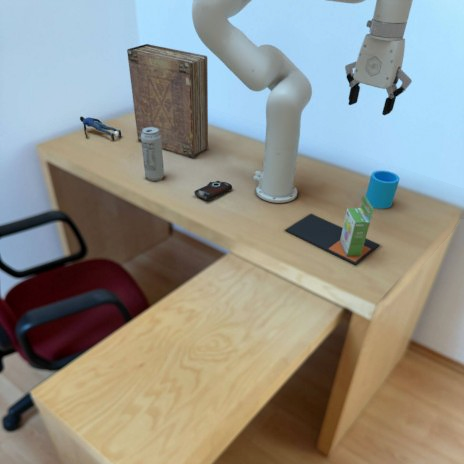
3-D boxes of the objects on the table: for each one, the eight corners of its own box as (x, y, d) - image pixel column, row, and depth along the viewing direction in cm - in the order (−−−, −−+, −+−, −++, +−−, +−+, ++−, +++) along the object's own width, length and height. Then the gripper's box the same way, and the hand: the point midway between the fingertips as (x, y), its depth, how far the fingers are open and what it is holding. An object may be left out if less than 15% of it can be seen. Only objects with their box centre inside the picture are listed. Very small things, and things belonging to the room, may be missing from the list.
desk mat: (285, 231, 120) (285, 229, 119) (310, 215, 126) (311, 213, 126) (355, 265, 109) (355, 263, 109) (378, 246, 116) (379, 244, 115)
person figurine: (128, 139, 166) (91, 122, 171) (127, 127, 163) (90, 110, 168) (108, 148, 159) (70, 130, 164) (108, 136, 156) (69, 118, 160)
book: (208, 150, 158) (208, 56, 137) (193, 158, 152) (190, 62, 131) (154, 133, 167) (145, 43, 147) (137, 141, 161) (126, 48, 141)
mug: (393, 210, 130) (401, 184, 125) (365, 206, 131) (371, 181, 125) (389, 191, 139) (397, 166, 133) (363, 188, 140) (369, 163, 134)
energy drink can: (168, 177, 141) (164, 130, 131) (153, 183, 137) (148, 135, 127) (156, 171, 144) (151, 124, 134) (141, 177, 140) (135, 129, 130)
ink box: (338, 241, 116) (349, 195, 107) (353, 240, 116) (365, 194, 107) (346, 256, 111) (358, 209, 102) (361, 256, 111) (374, 209, 102)
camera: (192, 187, 131) (217, 176, 137) (192, 196, 133) (217, 185, 139) (207, 193, 128) (232, 182, 134) (207, 202, 129) (232, 190, 136)
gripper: (345, 25, 101) (332, 103, 113) (415, 39, 93) (392, 121, 105) (362, 21, 105) (347, 97, 117) (430, 34, 97) (407, 114, 109)
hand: (369, 108), depth 111 cm, fingers open, 9 cm apart
